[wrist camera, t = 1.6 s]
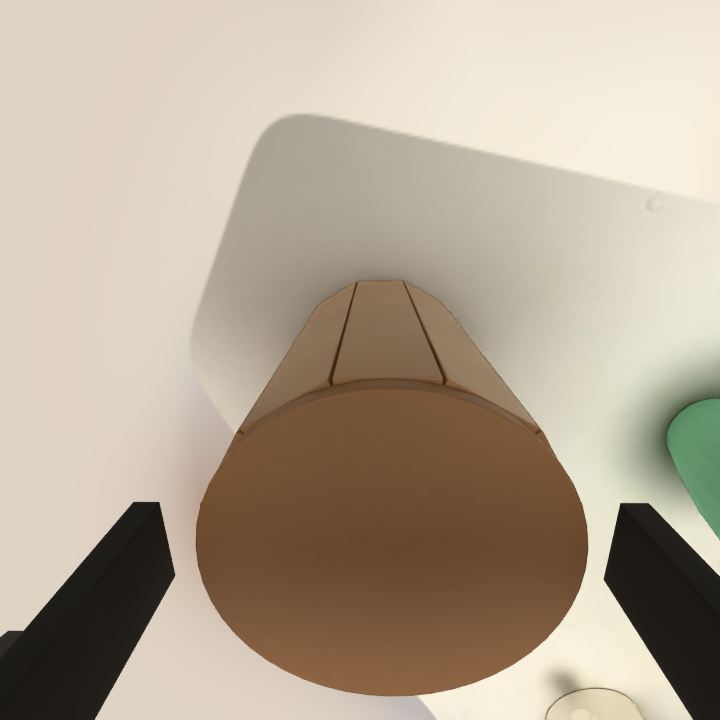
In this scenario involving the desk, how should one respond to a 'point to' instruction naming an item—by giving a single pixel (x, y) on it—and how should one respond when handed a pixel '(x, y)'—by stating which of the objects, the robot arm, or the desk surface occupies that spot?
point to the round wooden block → (390, 507)
